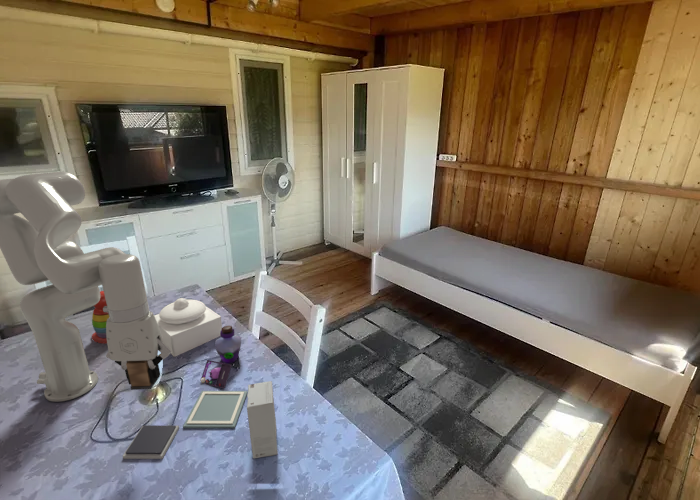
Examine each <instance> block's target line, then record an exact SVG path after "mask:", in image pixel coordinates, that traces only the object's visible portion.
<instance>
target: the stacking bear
mask: <svg viewBox="0 0 700 500" xmlns="http://www.w3.org/2000/svg"><path fill="white" fill-rule="evenodd" d="M104 306H107V303H106V299H105V295H104V291H103V290H100V301H99V302H98V303H97V304H96V305H94V306H93V307H94V309H93V311H92V312H93V313H92V315H91V316H92V317H91V325H92V327H93V330H94V332H93V333H92V335H91V340H92V339H93V340H94V341H93V342H95V343H97V342H98V344H107V337H106V322H107V319H108V318H109V314H108V313H107V312H103V307H104Z"/></svg>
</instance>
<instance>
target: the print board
mask: <svg viewBox="0 0 700 500" xmlns="http://www.w3.org/2000/svg"><path fill="white" fill-rule="evenodd" d="M247 394H248V390H201V392H200V393H199V395H198V397H197V399H196V401H195V402H194V405H193V407H192V409H191V410H190V412H189V414H188V416H187V418H186V420H185V421H184V424H183V425H182V428H183V429H236V426H237V423H238V420H239V418H240V415H241V413H242V409H243V406H244V404H245V402H246V398H247Z"/></svg>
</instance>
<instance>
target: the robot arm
mask: <svg viewBox="0 0 700 500" xmlns="http://www.w3.org/2000/svg"><path fill="white" fill-rule="evenodd" d="M85 198H86V192H85V187H84V185H83V183H82V182H81V181H80V179H79V178H78V177H76V175H74V174H72V173H70V172H67V171H55V172H43V173H35V174H34V173H33V174H32V173H31V174H26V175H24V174H23V175H21V176H17V177H14V178H5V179H4V178H3V179H0V251H1V253H2V255H3V257H4V259H5V261H6V263H7V266H8V268H9V270H10V272H11V274H12V275H13V277H14V279H15V280H16V282H18V283H19V284H21V285H24V286H33V285H37V284H40V283H45V282H48V281H50V283H51V284H50V285H47V286H43V287H39V288H38V289H35V290H32V291H30V292H29V293H27V294H24V295H25V296H23V297H22V298H21V300H20V302H19V308H20V311H21V314H22V315H23V317H24V319H25V320H26V322H27V324H28V326H29V327H30V329H31V332H32V335H33V337H34V340H35V344H36V347H37V349H38V354H39V357H40V359H41V362H42V366H43V369H44V372H43V371H41V372H40V373H39V375H38V379H37V380H36V384H38V385H45V387H46V388H45V389H44V391H43V393H44V394H43V395H44V397H45V399H46V400H47V401H49V402H56V403H57V402H65V401H70V400H73V399H76V398H79V397H81V396H82V395H84V394H87V393H88V392H89V391H91V390H92V389H93V388H94V387H95V386H96V384H97V383H98V381H99V376H98V374H97V372H96V371H93V370H90V368H89V363H88V359H87V355H86V351H85V349H84V348H85V347H84V344H83V340H82V336H81V333H80V329H79V328H78V326H77V325H76V324H75V323H73V322H70V321H68V320H66V319H67V318H68V317H71V316H73V315H74V314H78V313H80V312H83V311H85V310H87V309H90V308H92V307H94V305H96V304H97V303H98V302H99V301H100V292H101V290H100V288H99V287H100V286H102V291H104V295H105V299H106V303H107V306H104V307H103V312H107V313H108V314H109V318H108V319H107V322H106V337H107V343H106V345H107V349H108V351H107V353H106V354H105V357H106V358H108V359H109V360H110V361H114V363H116V364H117V365H119V366H120V368H121V369H122V370H123V371H124V372H125V377H126V379H127V383H128V385H130V386H131V382H130V378H129V374H128V370H127V366H126V363H127V362H128V361H147V363H148V365H149V367H150V368H149V369H148V374H149V378H150V383H151V384H154V383H155V382H156V383H157V381H158V380H159V378H160V377H159V376H161V371H160V365H159V364H160V363H161V362H162V361H163V360H165V359H167V357H169V356H170V355H171V350H170V349H169V348H168V347H166V346H165V345H164V344H163V341H162V336H161V332H160V329H159V326H158V323H157V321H156V318H155V316H154V311H150V306H149V302H148V296H147V291H146V287H145V286H146V285H145V283H144V282H145V281H144V277H143V272H142V267H141V262H140V259H139V257H138V256H136V255H135V254H130V253H129V254H128V253H126V252H124V251H122V250H121V249H119V248H118V247H114V246H113V247H112V246H111V247H110V246H109V247H105V248H101V249H97V250H94V251H90V252H85V253H84V251H83V249H82V248H81V247H80V246H79V245H78V244H77V242H74V241H72V240H69V239H70V238H71V237H73V236H75V234H76V233H77V232H78V231H79V230H80V228H81V226H82V223H83V221H82V220H83V219H82V216H81V215H80V214H79V212H77V211H76V209H75V208H74V207H73V206H75V205H76V206H78V205H80V204H82V202H84V199H85ZM17 214H21V215H22V216H23V217H24V218H23V217H21V216H20V215H17ZM158 353H159V354H158ZM157 379H158V380H157ZM156 380H157V381H156ZM156 383H155V384H156ZM155 384H154V385H155Z"/></svg>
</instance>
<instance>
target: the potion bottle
mask: <svg viewBox="0 0 700 500" xmlns="http://www.w3.org/2000/svg"><path fill="white" fill-rule="evenodd" d="M220 335H221V336H219V337H218V338H216V339H215V342H214V343H215V344H214V349H216V350H215V351H216V352H217V354H218V355H219V357H220V360H221V362H222V363H225V364H232V363H235V362H236V361H237V360H238V359H239V354H240V350H241V347H242V346H241V345H242V337H241V336H240V335H237V334H235V329H234V328H233V326H232V325H225V326H222V330H221V332H220ZM237 358H238V359H237ZM236 359H237V360H236ZM235 360H236V361H235Z"/></svg>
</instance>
